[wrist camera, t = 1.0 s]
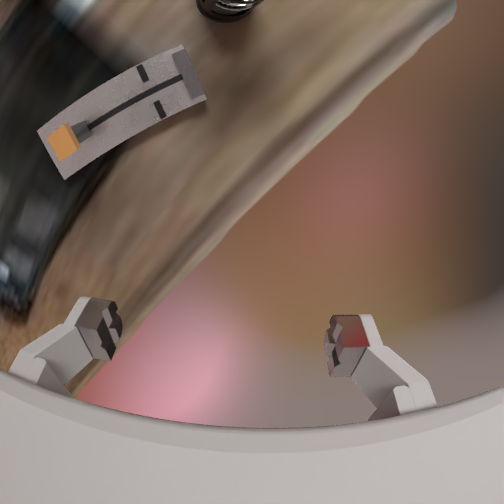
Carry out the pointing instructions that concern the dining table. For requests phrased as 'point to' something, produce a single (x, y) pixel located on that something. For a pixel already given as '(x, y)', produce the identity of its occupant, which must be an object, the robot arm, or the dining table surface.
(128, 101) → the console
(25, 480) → the robot arm
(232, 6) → the french press
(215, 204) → the dining table surface
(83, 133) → the fader tab
